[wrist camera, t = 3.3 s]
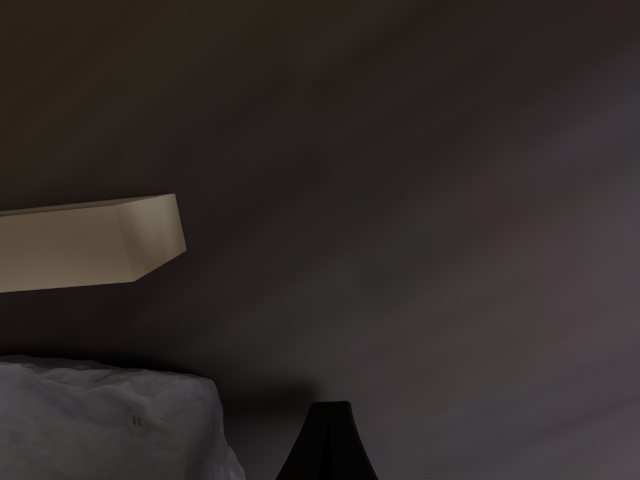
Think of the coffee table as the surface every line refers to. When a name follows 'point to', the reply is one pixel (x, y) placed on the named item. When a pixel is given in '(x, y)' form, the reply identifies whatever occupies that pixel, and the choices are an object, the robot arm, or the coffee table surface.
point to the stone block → (109, 423)
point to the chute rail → (88, 242)
